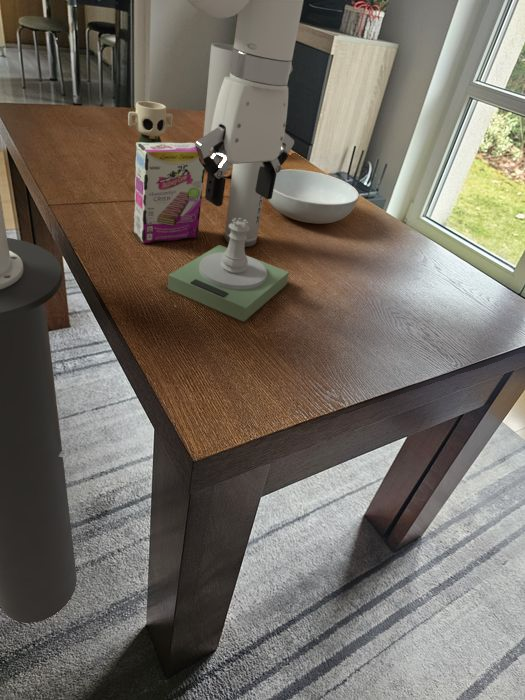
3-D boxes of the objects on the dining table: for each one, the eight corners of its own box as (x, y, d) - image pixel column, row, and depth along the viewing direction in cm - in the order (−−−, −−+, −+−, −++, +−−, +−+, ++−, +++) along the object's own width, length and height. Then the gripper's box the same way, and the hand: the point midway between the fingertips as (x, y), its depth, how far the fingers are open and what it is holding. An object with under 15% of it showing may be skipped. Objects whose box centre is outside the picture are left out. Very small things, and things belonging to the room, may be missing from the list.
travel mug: (218, 233, 99) (230, 126, 87) (249, 232, 102) (265, 128, 90) (228, 248, 95) (242, 137, 83) (260, 247, 97) (279, 139, 85)
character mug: (131, 165, 122) (132, 107, 114) (124, 155, 127) (124, 99, 119) (175, 165, 127) (178, 110, 119) (166, 156, 132) (168, 102, 124)
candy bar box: (143, 245, 90) (145, 151, 80) (133, 233, 93) (133, 141, 84) (199, 238, 96) (207, 150, 86) (188, 227, 99) (194, 141, 89)
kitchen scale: (243, 322, 76) (246, 303, 74) (167, 288, 80) (168, 270, 78) (286, 284, 87) (290, 267, 85) (217, 257, 91) (219, 240, 89)
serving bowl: (276, 190, 124) (281, 162, 120) (358, 213, 120) (366, 184, 116) (246, 217, 108) (251, 185, 104) (340, 244, 104) (349, 212, 100)
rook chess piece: (244, 277, 80) (251, 229, 75) (216, 270, 80) (222, 223, 75) (249, 264, 83) (256, 219, 79) (223, 258, 84) (228, 213, 79)
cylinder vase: (193, 144, 144) (201, 43, 129) (219, 138, 153) (229, 43, 138) (229, 156, 140) (241, 54, 125) (253, 150, 149) (267, 53, 134)
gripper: (287, 67, 72) (264, 185, 82) (187, 58, 61) (176, 195, 71) (325, 81, 68) (296, 202, 78) (226, 74, 58) (207, 216, 67)
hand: (239, 199), depth 75 cm, fingers open, 9 cm apart
